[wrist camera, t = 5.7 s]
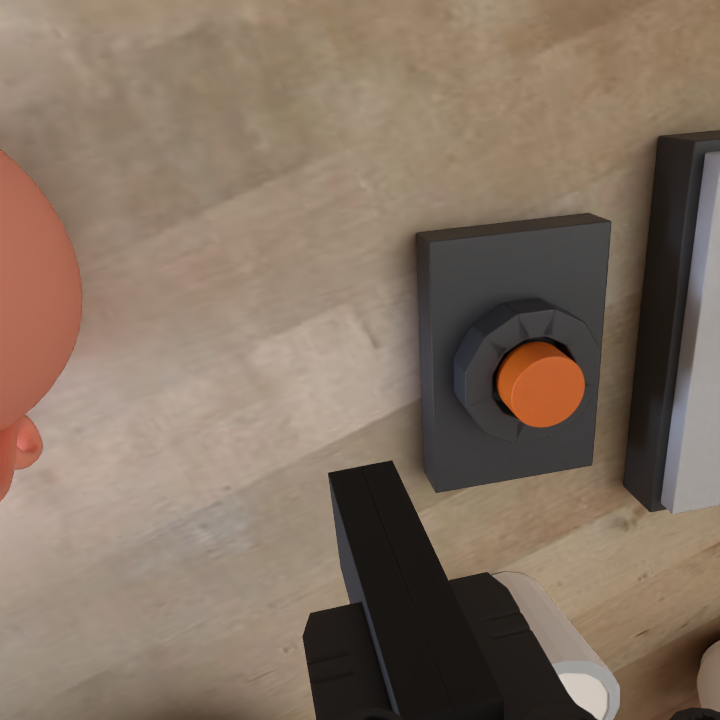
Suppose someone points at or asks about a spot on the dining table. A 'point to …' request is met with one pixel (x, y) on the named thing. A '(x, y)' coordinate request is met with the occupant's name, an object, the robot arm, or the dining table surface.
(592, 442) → the block
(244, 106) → the dining table surface
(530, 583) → the white cup
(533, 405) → the button
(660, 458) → the scale
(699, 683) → the sauce bottle
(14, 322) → the sugar bowl
